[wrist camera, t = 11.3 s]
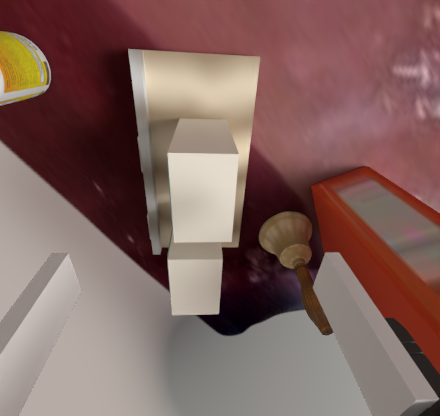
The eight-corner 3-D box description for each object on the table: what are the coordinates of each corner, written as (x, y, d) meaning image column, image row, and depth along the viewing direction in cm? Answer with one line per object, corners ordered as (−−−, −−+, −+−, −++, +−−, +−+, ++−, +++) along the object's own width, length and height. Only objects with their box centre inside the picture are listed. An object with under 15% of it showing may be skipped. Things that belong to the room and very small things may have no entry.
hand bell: (292, 259, 41) (335, 358, 28) (248, 244, 39) (273, 345, 26) (322, 221, 38) (390, 315, 24) (277, 202, 35) (323, 295, 22)
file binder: (369, 164, 33) (1143, 675, 6) (373, 254, 42) (691, 623, 15) (309, 185, 34) (727, 695, 7) (326, 268, 43) (539, 635, 16)
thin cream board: (133, 49, 25) (123, 48, 22) (256, 56, 26) (263, 56, 23) (154, 238, 37) (150, 254, 34) (236, 238, 38) (239, 254, 35)
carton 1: (176, 118, 26) (162, 152, 17) (226, 119, 27) (238, 154, 18) (180, 185, 31) (170, 242, 21) (222, 185, 31) (231, 242, 22)
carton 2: (175, 199, 32) (164, 259, 22) (216, 199, 32) (222, 259, 23) (177, 247, 36) (169, 315, 27) (214, 247, 36) (218, 314, 27)
